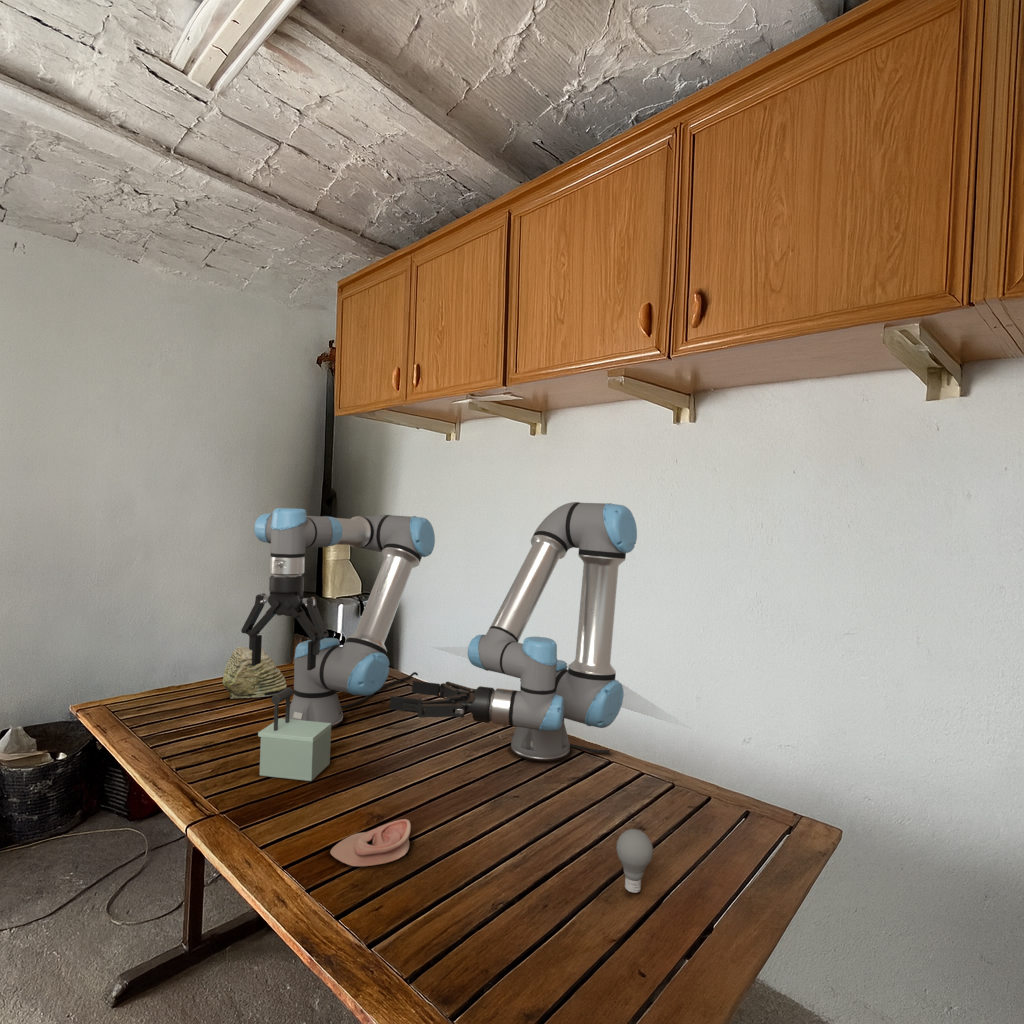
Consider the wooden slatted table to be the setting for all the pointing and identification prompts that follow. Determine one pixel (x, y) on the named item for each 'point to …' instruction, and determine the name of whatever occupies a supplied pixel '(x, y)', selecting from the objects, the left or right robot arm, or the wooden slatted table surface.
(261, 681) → the fossil
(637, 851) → the light bulb
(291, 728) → the lid
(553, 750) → the right robot arm
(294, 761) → the chest
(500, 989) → the wooden slatted table surface
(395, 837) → the anatomical model
